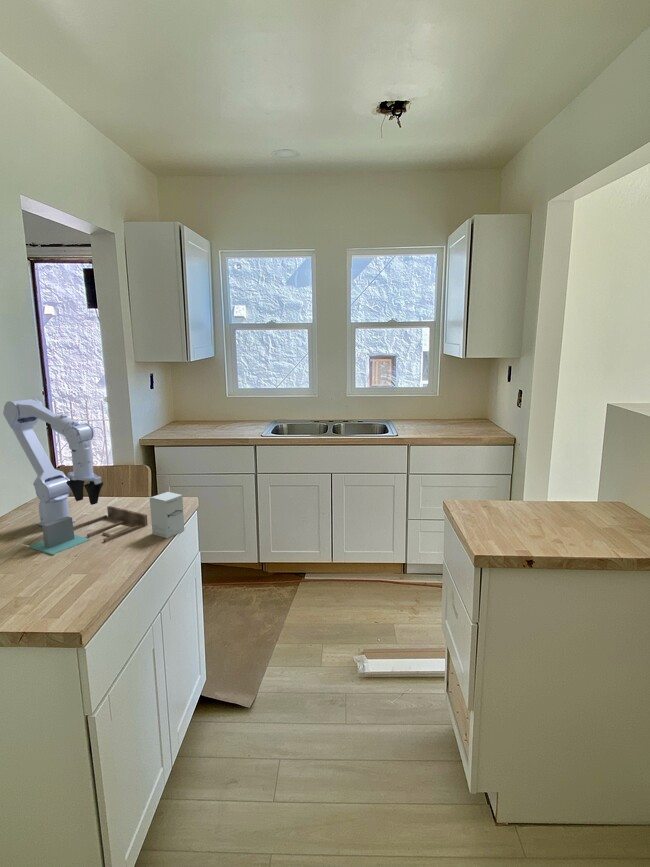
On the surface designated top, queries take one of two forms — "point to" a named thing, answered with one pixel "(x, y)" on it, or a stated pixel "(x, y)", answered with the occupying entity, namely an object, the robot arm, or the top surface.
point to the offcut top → (115, 530)
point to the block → (58, 532)
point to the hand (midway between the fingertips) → (86, 502)
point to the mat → (60, 547)
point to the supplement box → (167, 514)
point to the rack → (121, 515)
